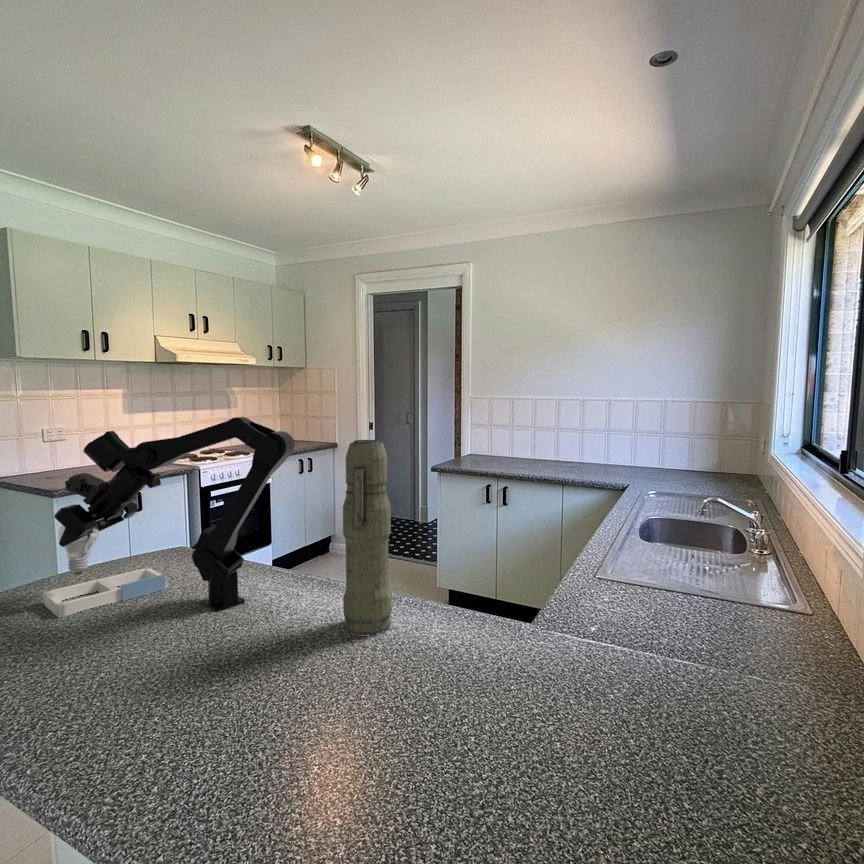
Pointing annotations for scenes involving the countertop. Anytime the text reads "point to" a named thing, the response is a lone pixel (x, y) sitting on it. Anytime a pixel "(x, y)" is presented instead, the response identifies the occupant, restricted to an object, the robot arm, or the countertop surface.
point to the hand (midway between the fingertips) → (72, 540)
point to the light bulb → (79, 550)
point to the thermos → (366, 539)
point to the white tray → (104, 591)
